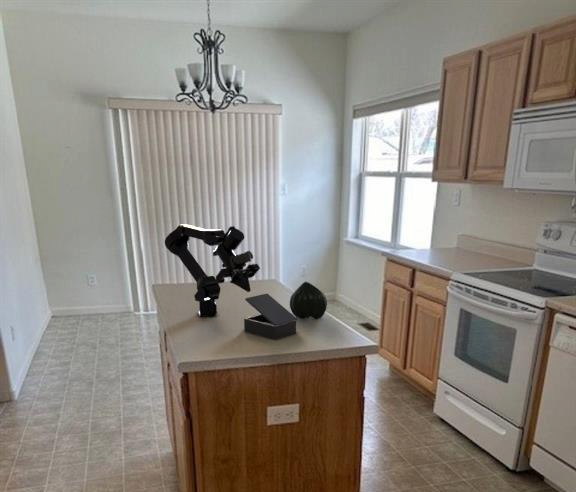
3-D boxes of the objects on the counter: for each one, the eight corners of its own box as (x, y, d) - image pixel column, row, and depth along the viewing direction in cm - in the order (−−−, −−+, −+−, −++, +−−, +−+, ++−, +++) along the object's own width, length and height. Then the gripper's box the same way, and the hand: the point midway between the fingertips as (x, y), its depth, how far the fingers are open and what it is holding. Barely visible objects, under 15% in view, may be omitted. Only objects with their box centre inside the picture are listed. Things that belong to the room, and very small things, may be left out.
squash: (323, 311, 206) (326, 277, 211) (285, 310, 208) (289, 277, 213) (326, 327, 219) (329, 295, 224) (290, 326, 222) (294, 294, 227)
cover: (244, 299, 194) (245, 298, 193) (266, 294, 202) (267, 293, 202) (275, 326, 188) (275, 324, 187) (296, 320, 196) (296, 318, 195)
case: (244, 330, 199) (244, 318, 197) (265, 324, 207) (265, 312, 205) (275, 339, 189) (275, 326, 187) (296, 332, 197) (296, 320, 196)
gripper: (220, 246, 190) (242, 281, 187) (256, 241, 203) (277, 274, 200) (206, 265, 197) (227, 300, 195) (242, 260, 210) (262, 292, 208)
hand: (249, 291), depth 199 cm, fingers closed
